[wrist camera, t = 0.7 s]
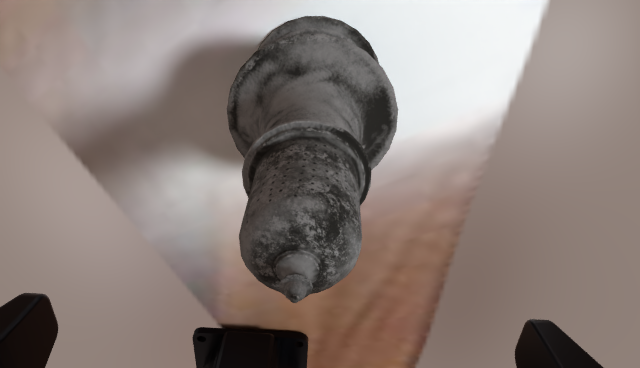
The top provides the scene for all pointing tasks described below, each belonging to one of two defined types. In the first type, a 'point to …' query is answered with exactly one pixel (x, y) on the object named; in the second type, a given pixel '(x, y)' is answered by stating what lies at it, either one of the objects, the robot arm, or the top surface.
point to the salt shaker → (308, 151)
